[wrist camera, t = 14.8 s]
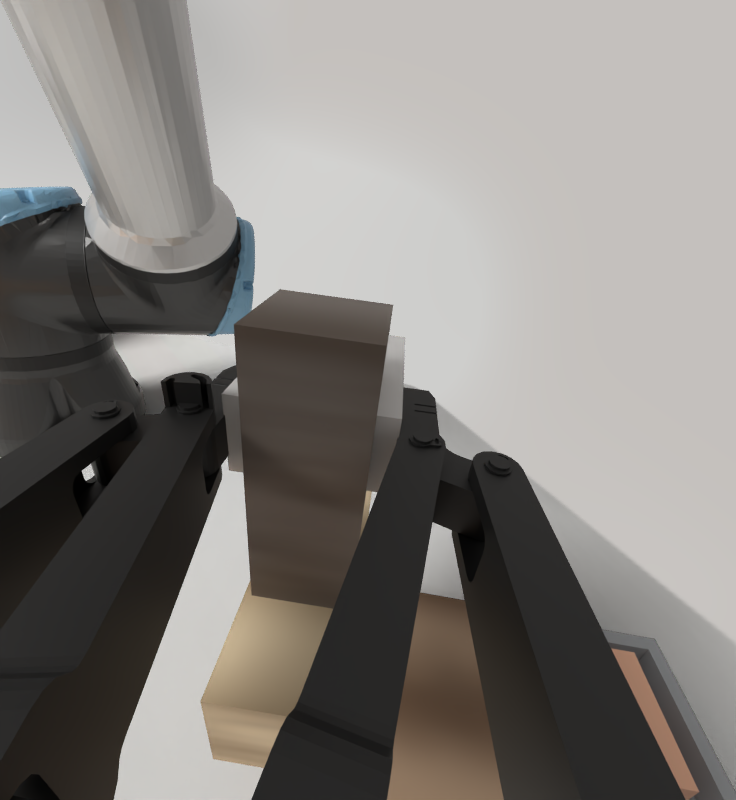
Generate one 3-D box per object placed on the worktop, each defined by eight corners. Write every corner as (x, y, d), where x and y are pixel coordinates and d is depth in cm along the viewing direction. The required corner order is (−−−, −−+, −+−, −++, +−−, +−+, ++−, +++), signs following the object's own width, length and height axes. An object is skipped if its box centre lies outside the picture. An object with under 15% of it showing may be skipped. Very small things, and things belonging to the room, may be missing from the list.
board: (337, 605, 27) (340, 578, 26) (477, 630, 27) (488, 604, 25) (285, 862, 17) (285, 841, 15) (513, 912, 16) (536, 895, 15)
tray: (491, 633, 27) (501, 611, 25) (637, 659, 26) (654, 638, 25) (537, 917, 16) (557, 904, 15) (783, 971, 16) (825, 962, 14)
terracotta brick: (514, 664, 24) (531, 634, 23) (609, 682, 24) (634, 652, 22) (540, 792, 19) (564, 765, 18) (662, 817, 19) (699, 792, 17)
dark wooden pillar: (294, 526, 21) (299, 269, 14) (364, 537, 21) (403, 283, 14) (213, 759, 13) (130, 387, 6) (331, 780, 12) (391, 425, 6)
